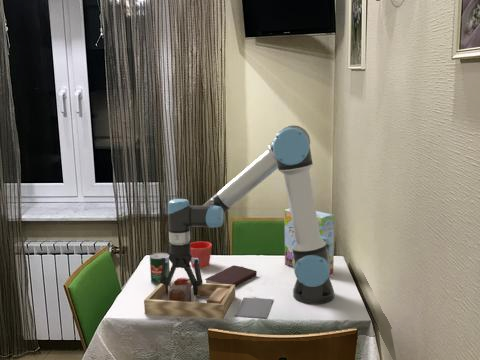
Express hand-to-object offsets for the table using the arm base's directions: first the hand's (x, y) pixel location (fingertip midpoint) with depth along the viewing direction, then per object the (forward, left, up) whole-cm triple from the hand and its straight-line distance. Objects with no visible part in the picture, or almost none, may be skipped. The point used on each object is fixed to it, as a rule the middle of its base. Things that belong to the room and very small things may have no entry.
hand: (182, 302), depth 188 cm
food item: (0, 0, -1) cm, 1 cm away
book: (-12, -27, -2) cm, 30 cm away
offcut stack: (-14, 0, -1) cm, 14 cm away
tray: (-4, 0, -1) cm, 4 cm away
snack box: (-43, -45, -1) cm, 62 cm away
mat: (-27, -1, -1) cm, 27 cm away
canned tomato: (+16, -22, -1) cm, 27 cm away
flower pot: (+5, -43, -1) cm, 43 cm away
